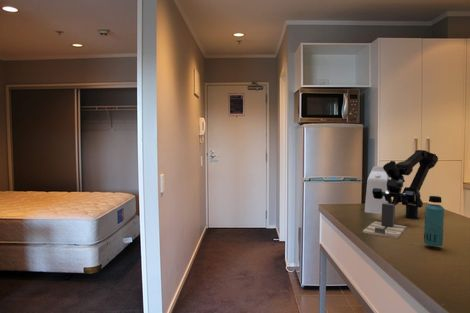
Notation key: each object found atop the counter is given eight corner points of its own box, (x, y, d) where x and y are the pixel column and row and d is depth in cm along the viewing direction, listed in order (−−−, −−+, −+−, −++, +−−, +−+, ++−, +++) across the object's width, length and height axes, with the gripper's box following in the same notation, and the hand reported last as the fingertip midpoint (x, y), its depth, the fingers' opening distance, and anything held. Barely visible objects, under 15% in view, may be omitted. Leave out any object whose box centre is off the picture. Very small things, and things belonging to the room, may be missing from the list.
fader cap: (383, 223, 154) (383, 202, 153) (394, 225, 151) (395, 204, 150) (381, 225, 151) (382, 203, 150) (392, 227, 148) (393, 205, 147)
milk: (390, 211, 187) (392, 166, 186) (387, 214, 178) (389, 167, 176) (368, 208, 194) (369, 165, 192) (364, 212, 184) (366, 166, 183)
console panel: (374, 223, 159) (374, 217, 159) (406, 228, 151) (406, 222, 150) (362, 232, 143) (362, 225, 143) (397, 238, 135) (397, 231, 135)
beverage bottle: (440, 246, 126) (442, 195, 125) (445, 251, 120) (447, 198, 118) (421, 244, 128) (423, 194, 127) (425, 249, 122) (427, 197, 121)
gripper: (373, 172, 163) (366, 196, 155) (415, 174, 152) (410, 201, 144) (377, 185, 170) (370, 210, 161) (417, 189, 158) (412, 215, 150)
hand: (390, 209), depth 154 cm, fingers closed
